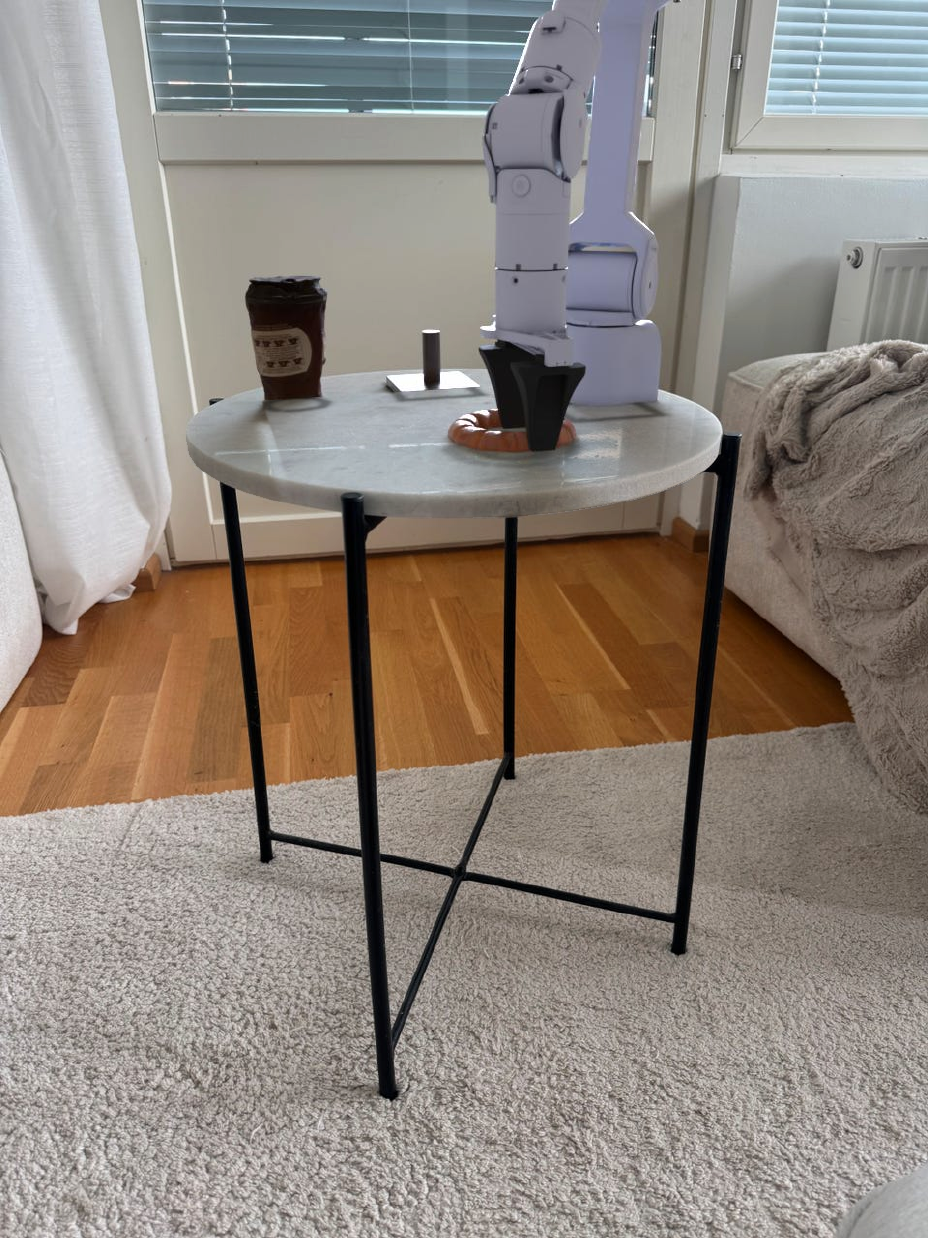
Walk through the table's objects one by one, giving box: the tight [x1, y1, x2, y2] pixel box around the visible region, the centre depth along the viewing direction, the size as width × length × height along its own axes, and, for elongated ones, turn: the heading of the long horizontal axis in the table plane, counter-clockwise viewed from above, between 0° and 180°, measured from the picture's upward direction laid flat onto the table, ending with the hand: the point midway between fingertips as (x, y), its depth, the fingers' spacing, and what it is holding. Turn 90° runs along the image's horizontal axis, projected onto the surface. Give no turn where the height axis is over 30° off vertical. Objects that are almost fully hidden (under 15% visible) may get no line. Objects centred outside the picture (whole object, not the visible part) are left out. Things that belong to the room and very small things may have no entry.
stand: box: [385, 329, 481, 393], centre depth 104 cm, size 9×9×6 cm
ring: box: [447, 408, 577, 454], centre depth 82 cm, size 11×11×3 cm
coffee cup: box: [244, 275, 328, 402], centre depth 96 cm, size 9×8×13 cm
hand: (527, 438), depth 78 cm, fingers open, 7 cm apart
